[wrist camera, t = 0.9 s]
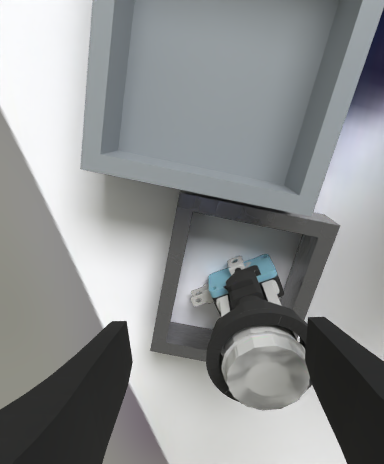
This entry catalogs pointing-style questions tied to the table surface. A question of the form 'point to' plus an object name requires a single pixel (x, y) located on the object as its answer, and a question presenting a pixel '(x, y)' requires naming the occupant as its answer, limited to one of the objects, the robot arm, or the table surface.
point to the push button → (254, 336)
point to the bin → (224, 93)
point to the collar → (312, 227)
